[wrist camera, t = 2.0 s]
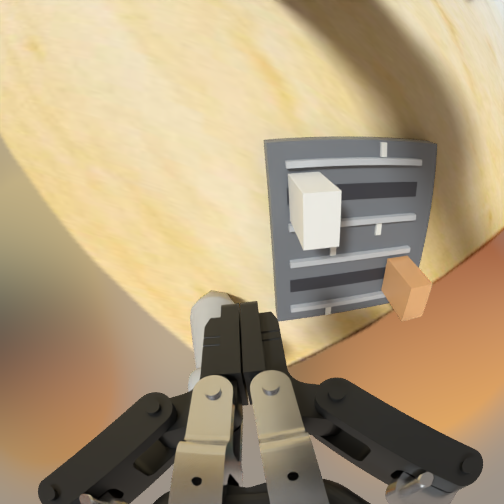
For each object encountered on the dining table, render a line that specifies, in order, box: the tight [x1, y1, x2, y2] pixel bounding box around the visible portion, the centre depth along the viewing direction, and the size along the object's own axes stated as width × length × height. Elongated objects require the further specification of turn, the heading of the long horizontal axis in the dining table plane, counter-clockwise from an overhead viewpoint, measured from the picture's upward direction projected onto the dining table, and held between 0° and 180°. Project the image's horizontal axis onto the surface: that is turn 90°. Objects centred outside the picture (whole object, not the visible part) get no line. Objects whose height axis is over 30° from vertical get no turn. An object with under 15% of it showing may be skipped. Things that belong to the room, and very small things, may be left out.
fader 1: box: [288, 172, 342, 250], centre depth 22 cm, size 4×3×6 cm, turn 5°
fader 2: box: [381, 256, 433, 321], centre depth 27 cm, size 4×3×6 cm, turn 5°
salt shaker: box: [188, 291, 235, 391], centre depth 27 cm, size 6×6×13 cm
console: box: [264, 137, 437, 321], centre depth 28 cm, size 20×18×3 cm
